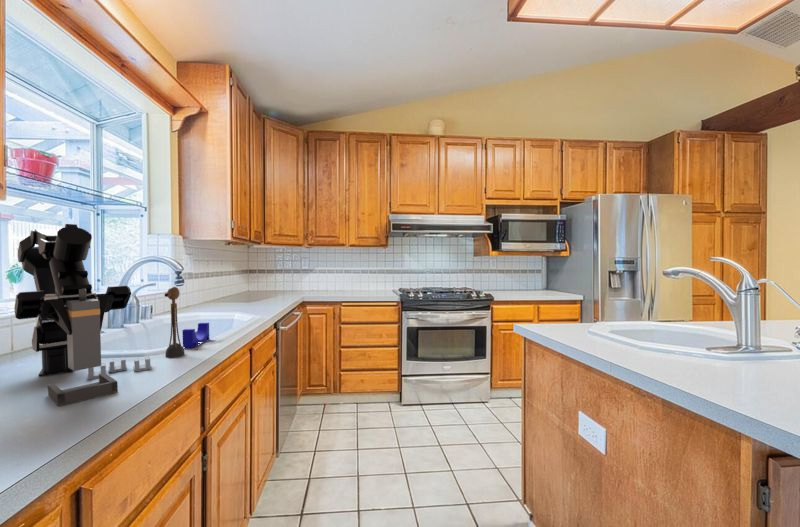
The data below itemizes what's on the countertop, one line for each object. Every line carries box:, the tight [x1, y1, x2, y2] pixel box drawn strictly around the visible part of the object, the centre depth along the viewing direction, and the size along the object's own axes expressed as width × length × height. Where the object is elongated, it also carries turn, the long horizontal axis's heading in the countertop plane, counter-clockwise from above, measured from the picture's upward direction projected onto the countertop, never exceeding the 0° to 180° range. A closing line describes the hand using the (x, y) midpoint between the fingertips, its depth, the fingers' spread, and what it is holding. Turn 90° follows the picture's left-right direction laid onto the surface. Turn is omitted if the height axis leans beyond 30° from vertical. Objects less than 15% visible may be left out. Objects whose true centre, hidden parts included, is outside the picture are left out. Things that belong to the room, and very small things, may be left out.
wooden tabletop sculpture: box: [164, 286, 185, 359], centre depth 108 cm, size 6×5×20 cm
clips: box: [86, 355, 152, 380], centre depth 95 cm, size 7×13×3 cm, turn 128°
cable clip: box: [181, 322, 210, 350], centre depth 123 cm, size 12×4×6 cm, turn 4°
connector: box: [66, 289, 102, 372], centre depth 79 cm, size 5×5×16 cm
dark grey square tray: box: [47, 373, 119, 407], centre depth 79 cm, size 10×10×2 cm
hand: (85, 331), depth 78 cm, fingers closed on connector, 4 cm apart
